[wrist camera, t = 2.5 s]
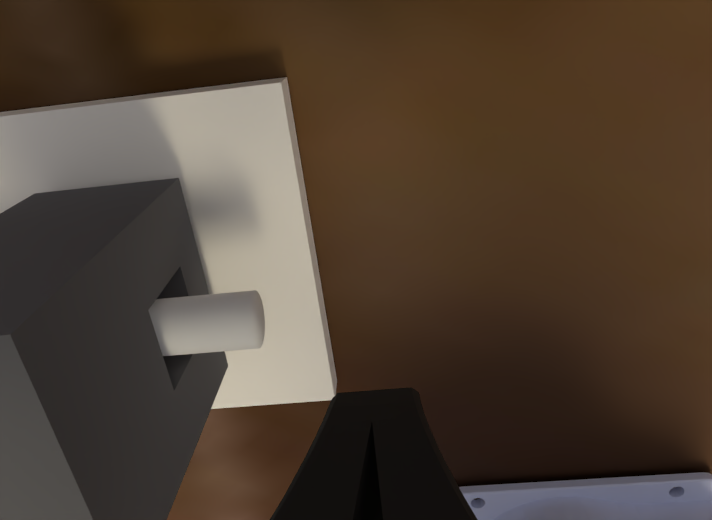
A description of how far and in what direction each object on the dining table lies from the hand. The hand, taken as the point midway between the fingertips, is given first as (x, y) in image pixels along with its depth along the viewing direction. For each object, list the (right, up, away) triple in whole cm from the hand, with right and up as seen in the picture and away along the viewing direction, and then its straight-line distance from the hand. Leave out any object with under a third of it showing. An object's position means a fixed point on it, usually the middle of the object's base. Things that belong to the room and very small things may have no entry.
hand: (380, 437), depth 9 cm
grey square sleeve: (-7, +2, +7) cm, 10 cm away
